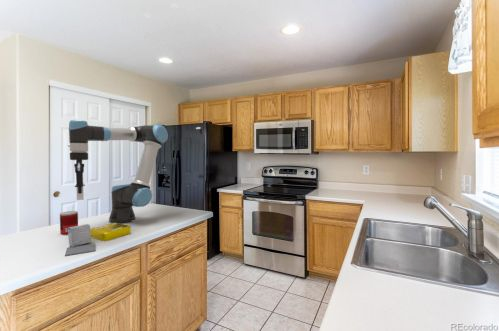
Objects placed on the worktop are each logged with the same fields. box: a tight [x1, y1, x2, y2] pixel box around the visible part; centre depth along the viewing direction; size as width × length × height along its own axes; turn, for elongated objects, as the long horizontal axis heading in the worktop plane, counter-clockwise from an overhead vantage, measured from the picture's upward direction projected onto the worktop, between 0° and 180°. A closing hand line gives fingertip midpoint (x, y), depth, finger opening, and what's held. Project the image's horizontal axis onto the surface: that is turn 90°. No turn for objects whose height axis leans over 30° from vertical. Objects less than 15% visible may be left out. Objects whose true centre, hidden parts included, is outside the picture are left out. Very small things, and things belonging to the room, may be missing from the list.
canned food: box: [59, 210, 79, 236], centre depth 137 cm, size 8×8×11 cm
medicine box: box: [67, 223, 92, 247], centre depth 119 cm, size 8×4×9 cm, turn 141°
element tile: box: [90, 223, 132, 242], centre depth 135 cm, size 15×15×5 cm
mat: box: [64, 243, 96, 257], centre depth 113 cm, size 11×10×1 cm
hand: (80, 199), depth 125 cm, fingers closed
